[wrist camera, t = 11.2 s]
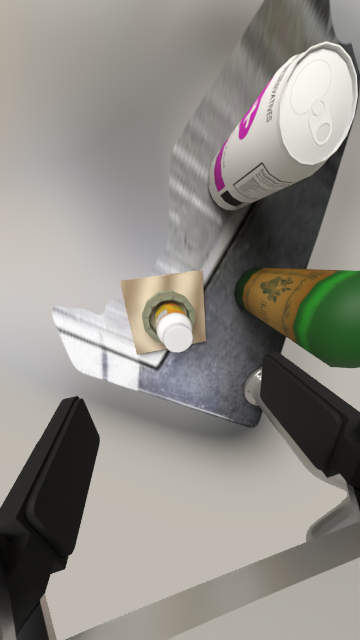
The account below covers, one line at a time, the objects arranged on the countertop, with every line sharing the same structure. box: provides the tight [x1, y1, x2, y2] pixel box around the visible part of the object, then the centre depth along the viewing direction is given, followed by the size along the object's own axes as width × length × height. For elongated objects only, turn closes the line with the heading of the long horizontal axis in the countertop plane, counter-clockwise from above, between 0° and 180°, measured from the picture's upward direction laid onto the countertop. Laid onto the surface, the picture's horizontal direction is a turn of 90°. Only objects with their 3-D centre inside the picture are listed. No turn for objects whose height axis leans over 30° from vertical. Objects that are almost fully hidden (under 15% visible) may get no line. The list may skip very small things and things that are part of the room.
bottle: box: [235, 268, 360, 368], centre depth 22 cm, size 11×11×28 cm
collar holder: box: [120, 270, 206, 354], centre depth 31 cm, size 14×14×4 cm
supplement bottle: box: [154, 302, 193, 352], centre depth 27 cm, size 5×5×10 cm
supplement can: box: [208, 42, 358, 210], centre depth 20 cm, size 8×8×15 cm
